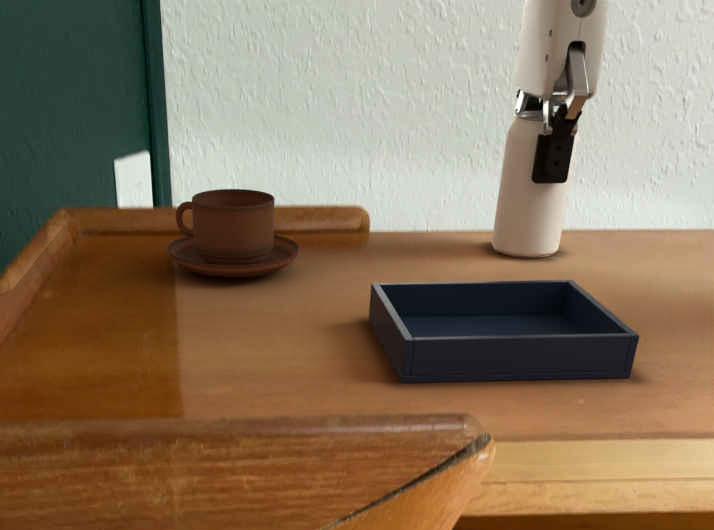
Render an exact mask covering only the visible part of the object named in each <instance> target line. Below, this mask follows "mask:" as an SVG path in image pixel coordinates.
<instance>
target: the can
mask: <svg viewBox="0 0 714 530" xmlns="http://www.w3.org/2000/svg"><path fill="white" fill-rule="evenodd" d="M556 112H557V111H555V110H554V115H555V113H556ZM514 113H515V112H514ZM514 116H515V119H514V118H513V122H512V123H511V124H510V127H509V129H508V130H507V134H506V139H505V145H504V153H503V159H502V166H501V173H500V180H499V187H498V193H497V201H496V208H495V209H496V210H495V215H494V222H493V231H492V238H491V245H492V248H493V250H494V251H495V252H497V253H499V254H501V255H504V256H509V257H512V258H520V259H542V258H548V257H551V256H553V255H554V254H555V253H556V252H557V251H559V248H560V243H561V238H562V234H563V233H562V232H563V226H564V222H565V215H566V210H567V204H568V199H569V192H570V188H571V184H572V183H571V182H572V176H573V171H574V165H575V160H576V154H577V147H578V141H579V130H577V133H576V135H575V138H574V144H573V150H572V155H571V161H570V167H569V172H568V178H567V181H566V182H565V183H543V184H536V183H534V182H533V181H532V179H531V177H532V171H533V165H534V158H535V152H536V145H537V139H538V134H543V111H522V112H517V113H515V114H514V115H513V117H514Z"/></svg>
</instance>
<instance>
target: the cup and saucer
mask: <svg viewBox="0 0 714 530" xmlns="http://www.w3.org/2000/svg"><path fill="white" fill-rule="evenodd" d="M187 210H191V212H192V228H189V227H187V225H185V223H184V220H183V215H184V212H185V211H187ZM175 222H176V225H177V227H178V230H179V231H180V232H182V234H183V235H185V236H182V237H179V238H177V239H175V240H173V241H171V242H170V243H169V244H168V246H167V252H168V255H169V257H170V258H171V260H173V262H174V263H175V264H177V265H178V266H180V267H181V268H183V269H185V270H187V271H190V272H193V273H196V274H201V275H204V276H205V275H206V276H211V277H220V278H247V277H256V276H262V275H267V274H271V273H274V272H277V271H280V270H282V269H284V268H287V267H288V266H289V265H291V264H292V263H293V262H294V261H295V260H296V259H297V258H298V256H299V253H300V246H299V244H298V243H297V242H295V241H294V240H293V239H290V238H288V237H285V236H283V235H282V236H281V235H277V234H275V233H274V232H275V229H274V227H275V197H274V195H273V194H271V193H268V192H265V191H261V190H255V189H247V188H246V189H244V188H222V189H211V190H204V191H201V192H198V193H196V194H194V195H193V196H192V197H191V201H189V200H187V201H184V202H181V203H180V204H179V206H177V208H176V211H175Z"/></svg>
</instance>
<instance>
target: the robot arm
mask: <svg viewBox="0 0 714 530" xmlns="http://www.w3.org/2000/svg"><path fill="white" fill-rule="evenodd" d="M610 5H611V0H524V6H523V10H522V11H523V12H522V16H521V24H520V28H519V35H518V42H517V49H516V55H515V63H514V76H513V77H514V79H513V80H514V84H515V86H516V87H517V88H518V90H517V91H516V93H517V94H516V99H517V101H516V105H515V109H514V114H515V113H517V112H522V111H543V134H538V139H537V145H536V152H535V158H534V165H533V171H532V177H531V179H532V181H533V182H534V183H536V184H543V183H565V182H566V181H567V178H568V172H569V167H570V161H571V155H572V150H573V144H574V138H575V135H576V133H577V131H579V129H578V128H579V119H580V117H581V116H582V114H583V110H582V109H583V107H584V106H585V104H586V102H587V101H590V100H591V99H593V98H594V97H595V96H596V94H597V93H598V90H599V84H600V79H601V73H602V66H603V58H604V53H605V46H606V39H607V38H606V37H607V31H608V23H609V15H610ZM555 93H565V94H555ZM555 107H557V109H556V111H555ZM554 111H555V112H556V113H555V115H554ZM514 119H515V116H514V115H513V120H514Z"/></svg>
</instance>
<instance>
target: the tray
mask: <svg viewBox="0 0 714 530" xmlns="http://www.w3.org/2000/svg"><path fill="white" fill-rule="evenodd" d="M368 322H369V325H370V326H371V328H372V330H373V333H375V335H376V337H377V340H378V341H379V343H380V345H381V347H382V349H383V351H384V353H385V355H386V356H387V359H388V360H389V362H390V365H391V366H392V368H393V370H394V371H395V373H396V375H397V377H398V379H399V381H400V382H401V383H402V384H405V383H407V384H408V383H411V384H412V383H448V382H449V383H450V382H452V383H453V382H454V383H455V382H490V381H492V382H494V381H495V382H497V381H533V380H535V381H536V380H572V379H573V380H578V379H579V380H580V379H582V380H584V379H585V380H586V379H621V378H622V379H624V378H625V379H627V378H631V374H632V370H633V367H634V361H635V357H636V353H637V350H638V345H639V340H640V334H638V332H636V331H635V330H634V329H632V328H631V327H630V326H628V324H627V323H625V322H624V321H623V320H622V319H621V318H619V317H618V316H617V315H615V314H614V313H613V311H611V310H609V308H608V307H606V306H605V305H604V304H602V303H601V302H600V301H598V300H597V298H595V297H594V296H593V295H591V293H590V292H588V291H587V290H585V288H583V287H582V286H581V285H579V283H577V282H576V281H575V280H574V279H541V280H540V279H539V280H538V279H537V280H536V279H535V280H534V279H533V280H532V279H531V280H480V281H479V280H477V281H476V280H475V281H473V280H472V281H471V280H470V281H418V282H417V281H415V282H413V281H412V282H410V281H409V282H408V281H407V282H371V283H370V295H369V310H368Z"/></svg>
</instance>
